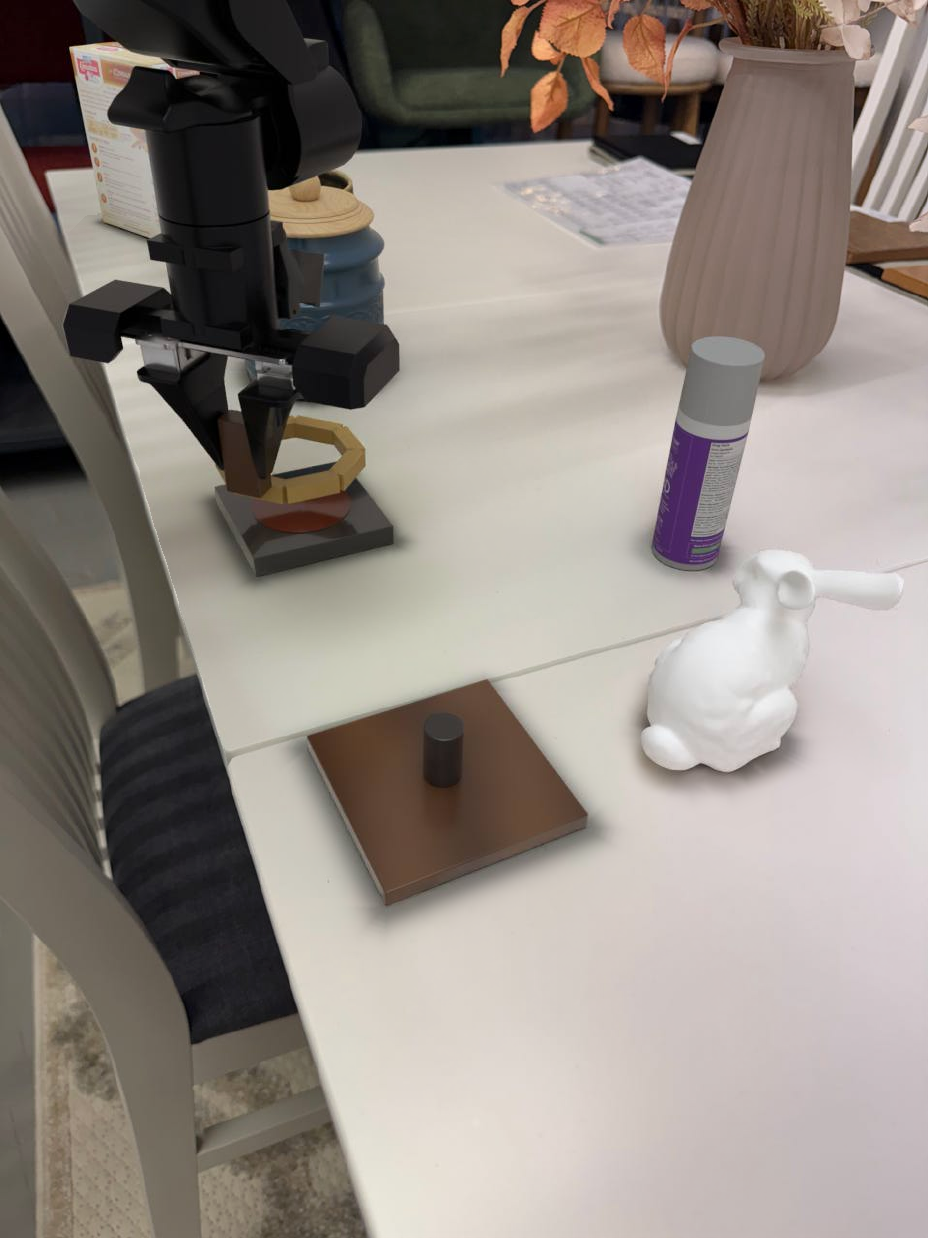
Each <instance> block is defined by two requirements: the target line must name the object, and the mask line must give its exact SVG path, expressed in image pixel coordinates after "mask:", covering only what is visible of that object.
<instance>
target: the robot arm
mask: <svg viewBox="0 0 928 1238" xmlns="http://www.w3.org/2000/svg"><path fill="white" fill-rule="evenodd" d="M72 1H73V2H74V4H75V6H76V8H77V9H78V11H79V12H80V14H82V15H83V16H85V17H86V18H87V19H88V20H89V21H91V22H92V23H93V24H94V25H96V26H97V27H98V28H100V29H101V30H102V31H103V32H105V34H106V35H108V36H109V37H110V38H112V39H113V40H114V41H115V42H118V43H119V44H121V45H122V46H123V47H124V48H126V49H127V50H129V51H130V52H133V53H137V54H141V55H144V56H151V57H158V58H161V59H162V60H163V61H164V62H166V63H167V64H168V65H169V66H171V67H173V68H179V69H186V70H193V71H199V72H201V73H208V74H215V75H216V77H213V76H211V75H206V74H200V75H192V76H187V77H182V78H178V79H176V78H175V76H174V75H173V73H172V72H171V71H169V70H163V69H156V68H149V67H143V66H134V67H133V68H132V71H131V75H130V78H129V80H128V82H127V84H126V85H125V87H124V88H123V89H122V90H121V91H120V92H119V93H118V94H117V95H116V96H115V98H114V99H113V101H112V103H111V105H110V107H109V108H108V110H107V117H108V120H109V121H110V122H111V123H112V124H114V125H120V126H126V127H131V128H137V129H143V130H145V135H146V142H147V148H148V154H149V160H150V167H151V173H152V179H153V185H154V192H155V198H156V204H157V210H158V217H159V223H160V229H161V233H160V234H158V235H156V236H154V237H152V238H148V239H146V244H147V250H148V255H149V260H150V261H154V262H159V263H165V266H166V272H167V279H168V284H169V285H168V286H169V290H170V292H169V291H168V290H167V289H166V288H165V287H162V286H158V285H157V286H156V285H151V284H144V283H138V282H133V281H128V280H127V281H126V280H120V279H113V280H112V281H110V282H107V283H106V284H104V285H102V286H100V287H98V288H97V289H95V290H93V291H91V292H89V293H87V294H86V295H84V296H82V297H79V298H78V299H76V300H74V301H72V302H70V303H69V304H68V306H67V307H66V309H65V312H64V315H63V318H62V322H61V327H62V332H63V335H64V340H65V344H66V348H67V352H68V354H69V356H70V357H72V358H78V359H83V360H88V361H92V362H99V363H104V364H110V363H112V362H113V361H115V359H116V358H117V357H118V356H119V355H120V354H121V353H122V351H124V343H123V340H122V338H125V339H133V340H134V342H135V345H137V346H140V351H141V356H142V362H143V365H142V367H139V368H138V369H137V370H136V376H137V379H138V380H139V382H141V383H144V384H148V385H150V386H151V387H152V388H153V389H154V390H155V391H156V392H157V393H158V395H159V396H160V397H161V398H162V399H163V401H165V402H166V404H167V405H168V406H169V407H170V408H171V410H173V412H174V413H175V414H176V415H177V416H178V418H180V419H181V421H182V422H183V423H184V425H185V426H186V427H187V429H188V430H189V431H190V433H191V434H192V435H193V436H194V438H195V439H196V440H197V441H198V443H199V444H200V445H201V448H203V449H204V451H205V452H206V454H207V455H208V457H210V460H212V462H213V463H214V465H215V464H216V465H217V467H218V468H219V469H220V470H221V471H224V466H223V458H222V452H221V445H220V438H219V431H218V424H217V420H218V419H219V418H220V417H221V416H222V415H224V414H225V413H226V412H227V411H228V410H229V402H228V397H227V390H226V389H227V388H226V383H225V376H226V375H225V374H226V369H227V365H228V359H229V357H230V358H236V359H240V360H245V359H246V360H251V361H255V368H256V370H257V371H256V376H257V378H256V379H255V380H254V381H251V382H249V384H247V385H246V386H245V387H244V388H243V389H241V390H240V391H238V392H237V399H238V403H239V407H240V411H241V413H242V417H243V421H244V425H245V430H246V434H247V438H248V443H249V447H250V451H251V456H252V460H253V463H254V466H255V469H256V471H257V474H258V476H259V478H260V479H263V480H266V479H267V478H268V477H269V476H270V475H273V472H274V468H275V466H276V462H277V459H278V455H279V451H280V448H281V445H282V442H283V440H282V438H283V434H284V431H285V428H286V424H287V421H288V418H289V416H291V415H290V414H291V412H292V409H293V407H294V405H295V403H296V402H297V401H298V400H300V399H299V398H300V397H301V396H303V397H304V398H305V399H304V400H305V401H306V402H308V403H313V404H319V405H323V406H329V407H335V408H339V409H345V410H349V411H352V410H357V409H363V408H366V407H367V406H368V404H370V402H371V401H372V400H373V399H374V398H375V397H376V396H377V395H378V394H379V393H380V392H381V391H382V390H383V389H384V388H385V387H386V386H387V384H388V383H389V382H390V381H391V380H392V379H393V378H394V377H395V376H396V375H397V374H398V373H399V372H400V370H401V369H400V342H399V341H398V339H397V338H396V336H395V334H394V333H393V331H392V330H391V328H390V327H389V325H388V324H385V323H384V324H378V323H372V322H366V321H360V320H354V319H348V318H342V317H336V316H332V317H331V318H330V319H328V320H327V321H326V322H325V323H323V324H322V325H321V326H320V327H319V328H317V329H316V330H315V331H314V332H309V331H303V330H297V329H283V330H280V321H281V320H282V319H289V320H291V319H293V318H294V317H295V316H297V315H298V314H299V313H300V305H299V303H303V304H307V305H312V306H313V307H320V303H321V292H322V280H323V269H324V258H325V254H322V253H316V252H310V251H304V250H297V249H291V248H288V246H287V239H286V232H285V229H284V228H283V222H278V221H272V220H271V219H270V209H269V197H268V190H282V189H284V188H287V187H290V186H292V185H295V184H297V183H300V182H303V181H305V180H308V179H310V178H313V177H316V176H318V175H321V174H323V173H326V172H329V171H331V170H334V169H335V170H337V169H340V168H341V167H343V166H346V164H347V163H348V162H349V161H350V160H352V159H353V157H354V155H355V154H356V152H357V150H358V148H359V145H360V142H361V139H362V132H363V131H362V130H363V119H362V111H361V110H360V108H359V107H358V103H357V99H356V97H355V95H354V93H353V91H352V89H351V86H350V85H349V84H348V82H347V81H346V80H345V78H344V77H343V76H342V75H341V74H340V72H338V71H337V70H336V69H335V68H334V67H332V66H331V65H330V58H329V43H328V42H327V41H326V40H323V39H321V40H320V39H314V38H306V37H305V38H304V36H303V34H302V31H301V29H300V27H299V26H298V25H299V24H298V23H297V21H296V19H295V17H294V15H293V13H292V12H293V11H292V10H291V9H290V8H291V7H290V5H289V4H288V1H287V0H72Z"/></svg>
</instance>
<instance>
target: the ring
mask: <svg viewBox="0 0 928 1238" xmlns="http://www.w3.org/2000/svg"><path fill="white" fill-rule="evenodd" d="M217 424H218V431H219V438H220V445H221V452H222V458H223V466H224V471H221V470H220V469H219V468H218V467H217V465H216V464H215V463H214V467H215V468H216V470H217V472H218V473H219V475H220V477H221V479H222V480H223V482H224V485H225V484H226V487H227V491H228V492H233V494H237V495H242V496H246V497H251V498H255V499H260V500H265V501H269V502H274V503H278V504H283V503H284V502H285V501H287V503H288V504H291V503H296V502H300V501H305V500H310V499H314V498H319V497H323V496H328V495H332V494H337V493H340V490H343V491H345V490H346V488H347V487H348V486H349V485H350V484H351V483H352V481H353V480H354V479H355V478H357V477H358V476H359V474H360V473H361V472H362V471H363V470H364V469H365V467H366V464H367V463H366V462H367V461H366V448H365V446H364V445H363V444H362V442H360V440H359V439H358V437H356V435H355V434H354V433H353V432H352V431H351V429H350V428H349V426H347V425H345V426H344V423H340V422H334V421H330V420H324V419H319V418H314V417H308V416H303V415H296V416H295V417H294V415H289V418H288V421H287V424H286V428H285V431H284V434H283V438H282V441H284V440H290V439H301V440H304V441H305V440H306V441H310V442H314V443H321V444H325V445H330V446H334V448H335V450H337V452H338V453H339V454H340V458H339V459H338V460H337V461H335V462H336V463H335V464H334V465H333V466H332V468H331V469H330V470H328V471H323V472H319V473H314V474H309V475H304V476H299V477H295V478H290V479H282V478H277V477H272V476H271V475H272V474H271V475H270V476H269V477H268V478H267V479H266V480H263V479H260V478H259V476H258V474H257V471H256V469H255V466H254V463H253V460H252V456H251V451H250V447H249V443H248V438H247V434H246V430H245V425H244V421H243V417H242V413H241V410H237V409H228V411H227V412H226V413H225V414H224V415H222V416H221V417H220V418H219V419H218V420H217Z"/></svg>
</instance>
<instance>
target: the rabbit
mask: <svg viewBox="0 0 928 1238" xmlns="http://www.w3.org/2000/svg"><path fill="white" fill-rule="evenodd" d="M731 583H732V587H733V589H734V590H735V591H736V593H737V594H738V597H739V598H738V599H739V601H740V604H739V605H738V606H737V607H734V608H732V610H731V611H729V612H727V613H726V614H724V615H723V616H721V618H720V619H716V620H709V621H706V622H704V623H701V624H699V625H698V626H696V627H694V628H692V629H690V630H689V631H688V632H686V634H685V635H683V636H680V637H677V638H674V639H673V640H671V641H669V643H668V644H666V645H665V647H664V648H663V649H662V650H661V651H660V653H658V655H657V656H656V658H655V661H654V667H653V668H652V670H650V672H649V676H648V683H647V684H648V685H647V686H648V692H647V693H648V699H647V709H646V716H647V720H648V722H649V725H650V726H647V727H646V728H644V729H643V731H642V732H641V735H640V744H641V747H642V749H643V752H644V754H645V755H646V757H648V758H649V759H650V760H651V761H652V762H654V763H656V764H657V765H659V766H661V767H663V768H666V769H668V770H670V771H671V770H673V771H686V770H689V769H691V768H693V767H696V766H697V765H699V764H702V765H706V766H707V767H709V768H711V769H713V770H715V771H719V772H721V773H722V772H723V773H731V772H734V771H736V770H738V769H740V768H742V767H744V766H745V765H746V764H748V763H749V762H751V761H752V760H754V759H756V758H758V757H760V756H763V755H765V754H767V753H770V752H773V751H776V749H778V748H780V746H781V742H782V740H781V739H782V737H783V736H784V735H785V734H786V733H787V731H788V730H789V729H790V727H792V724H793V723H794V720H795V718H796V715H797V712H798V706H799V705H798V701H797V698H796V696H795V694H793V692H792V691H791V690H790V688H791V686H792V685H794V684H796V682H799V680H800V679H801V677H802V676H803V672H804V670H805V668H806V665H807V661H808V658H809V653H810V647H811V645H810V634H809V627H808V622H809V620H810V618H811V616H812V615H813V612H814V610H815V608H816V604H817V603H816V602H817V598H820V599H825V600H829V601H833V602H837V603H841V604H846V605H850V606H854V607H858V608H861V609H865V610H870V611H875V612H880V611H881V612H882V611H883V612H884V611H886V612H887V611H889V610H892V609H894V608H895V607H896V606H897V605H898V604H899V602H900V601H901V598H902V597H903V592H904V589H905V580H904V579H903V577H902V576H901V575H900V574H898V573H894V572H878V573H877V572H867V571H860V570H845V569H842V570H841V569H822V570H821V569H815V567H814V565H813V564H812V562H811V561H810V560H809V558H808V557H806V556H805V555H803V554H802V553H799V552H796V551H792V550H784V549H767V550H766V549H765V550H761V551H757V552H755V553H753V554H751V555H749V556H748V557H746V558H745V559H744V560H743V561H742V562H741V563H740V566H739V567H738V569H737V570H736V572H735V573H734V574H733V576H732V581H731Z"/></svg>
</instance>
